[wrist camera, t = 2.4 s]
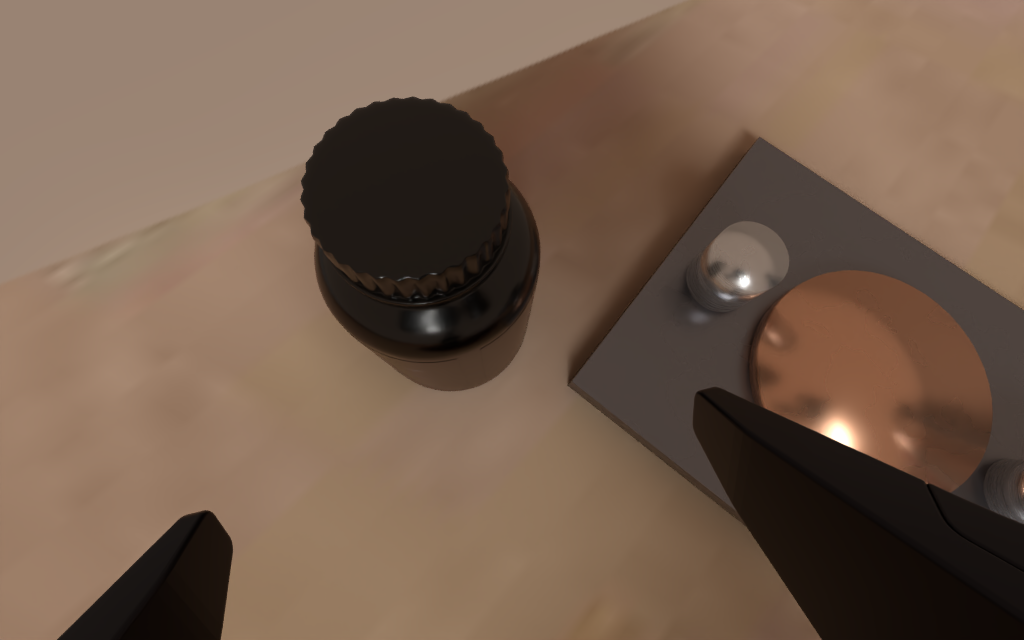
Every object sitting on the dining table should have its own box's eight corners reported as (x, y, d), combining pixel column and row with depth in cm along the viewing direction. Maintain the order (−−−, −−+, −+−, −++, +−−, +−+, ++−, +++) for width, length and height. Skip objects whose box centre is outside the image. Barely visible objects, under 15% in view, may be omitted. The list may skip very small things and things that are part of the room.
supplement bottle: (443, 226, 24) (396, 10, 12) (554, 309, 23) (619, 160, 11) (346, 333, 22) (187, 201, 10) (462, 426, 21) (427, 394, 10)
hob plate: (1104, 388, 23) (1236, 374, 19) (968, 702, 19) (1097, 769, 15) (747, 151, 26) (795, 94, 21) (567, 385, 22) (585, 369, 18)
